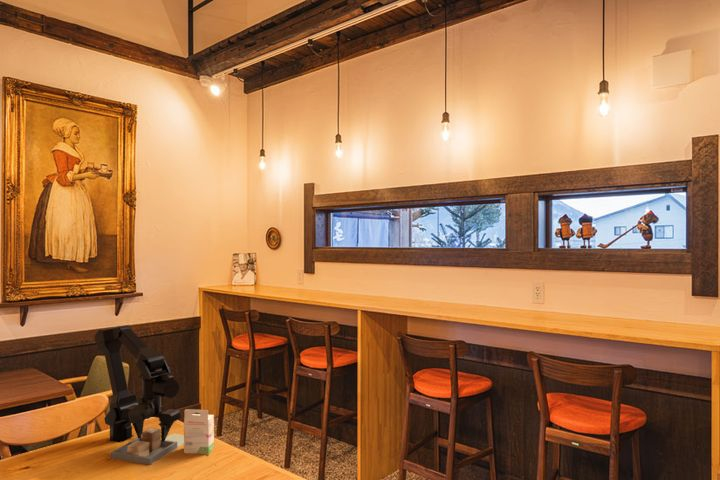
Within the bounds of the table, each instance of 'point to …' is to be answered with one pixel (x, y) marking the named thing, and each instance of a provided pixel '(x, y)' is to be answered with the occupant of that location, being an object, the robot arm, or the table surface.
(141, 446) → the beech box
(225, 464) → the table surface
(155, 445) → the walnut box
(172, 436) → the sage tile
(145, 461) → the grey tray
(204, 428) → the ink box
